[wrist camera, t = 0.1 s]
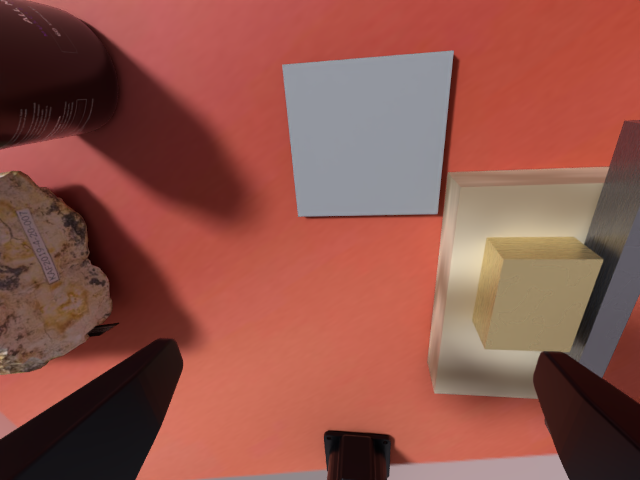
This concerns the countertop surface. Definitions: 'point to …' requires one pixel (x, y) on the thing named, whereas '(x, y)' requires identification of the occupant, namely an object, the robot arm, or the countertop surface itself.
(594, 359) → the latch lever
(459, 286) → the cream rectangular block
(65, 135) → the supplement bottle
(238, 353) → the countertop surface
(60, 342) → the petrified wood
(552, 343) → the tan wooden block
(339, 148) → the rubber mat
